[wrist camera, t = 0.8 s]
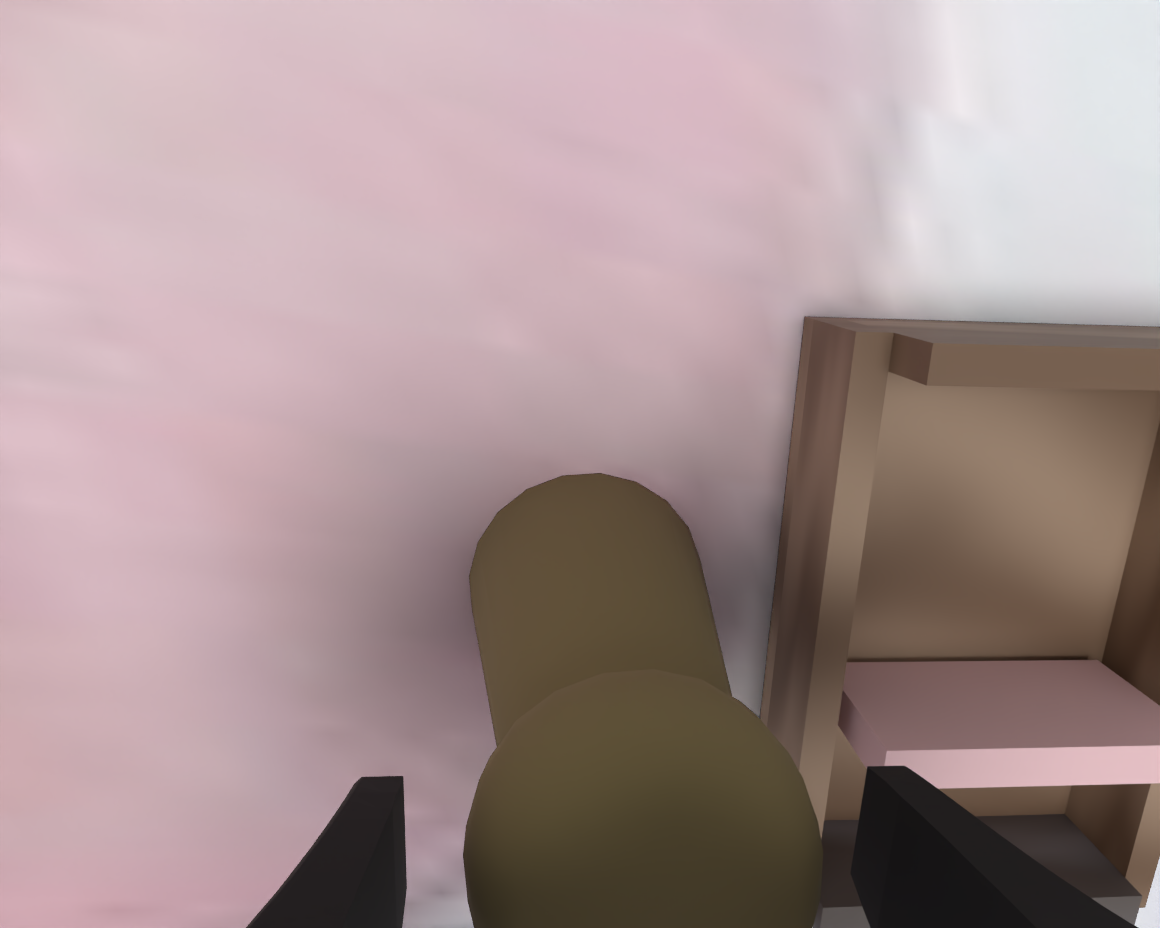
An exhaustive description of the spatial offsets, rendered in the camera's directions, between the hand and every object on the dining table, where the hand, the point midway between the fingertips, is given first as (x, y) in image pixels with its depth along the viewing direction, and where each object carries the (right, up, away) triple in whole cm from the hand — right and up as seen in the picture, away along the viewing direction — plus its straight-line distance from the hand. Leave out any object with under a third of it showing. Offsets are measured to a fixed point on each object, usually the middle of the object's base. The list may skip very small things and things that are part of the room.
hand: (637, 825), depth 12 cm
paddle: (+9, 0, +9) cm, 13 cm away
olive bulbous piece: (-1, +2, +9) cm, 9 cm away
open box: (+9, +2, +9) cm, 13 cm away
